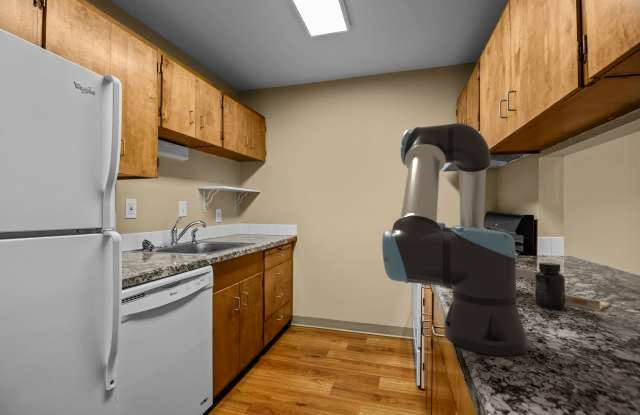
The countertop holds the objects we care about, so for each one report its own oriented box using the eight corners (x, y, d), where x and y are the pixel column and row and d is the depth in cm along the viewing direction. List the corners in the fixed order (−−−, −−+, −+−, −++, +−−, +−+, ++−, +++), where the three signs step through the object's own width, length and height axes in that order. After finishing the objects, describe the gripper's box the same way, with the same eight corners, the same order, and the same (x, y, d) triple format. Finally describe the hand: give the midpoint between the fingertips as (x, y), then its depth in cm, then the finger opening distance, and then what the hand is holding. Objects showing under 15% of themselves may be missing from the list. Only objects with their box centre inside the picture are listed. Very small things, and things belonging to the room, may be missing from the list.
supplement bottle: (571, 311, 82) (570, 266, 82) (542, 309, 83) (541, 265, 83) (556, 303, 89) (556, 262, 89) (530, 302, 90) (530, 261, 90)
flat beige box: (598, 311, 82) (598, 301, 82) (554, 302, 90) (554, 293, 90) (610, 304, 87) (610, 295, 87) (567, 296, 96) (567, 288, 96)
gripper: (477, 273, 116) (541, 284, 99) (436, 281, 103) (503, 296, 85) (477, 253, 117) (541, 261, 99) (436, 259, 103) (502, 269, 85)
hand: (524, 277), depth 92 cm, fingers open, 13 cm apart
